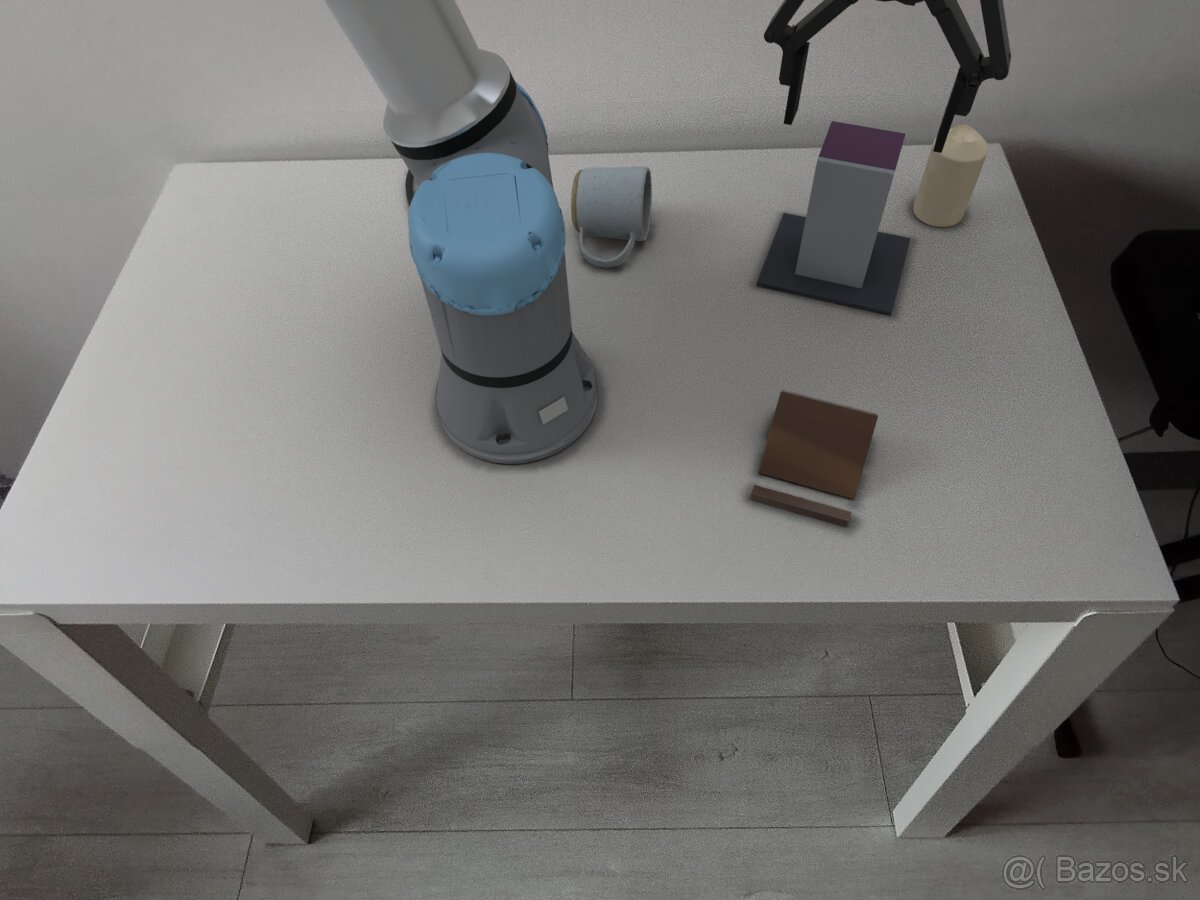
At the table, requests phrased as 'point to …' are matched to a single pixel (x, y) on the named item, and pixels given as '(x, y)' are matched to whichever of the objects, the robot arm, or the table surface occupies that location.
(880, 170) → the grey box
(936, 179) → the candle
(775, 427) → the phone stand
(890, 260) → the mat
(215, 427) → the table surface
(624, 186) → the ceramic mug
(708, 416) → the table surface
